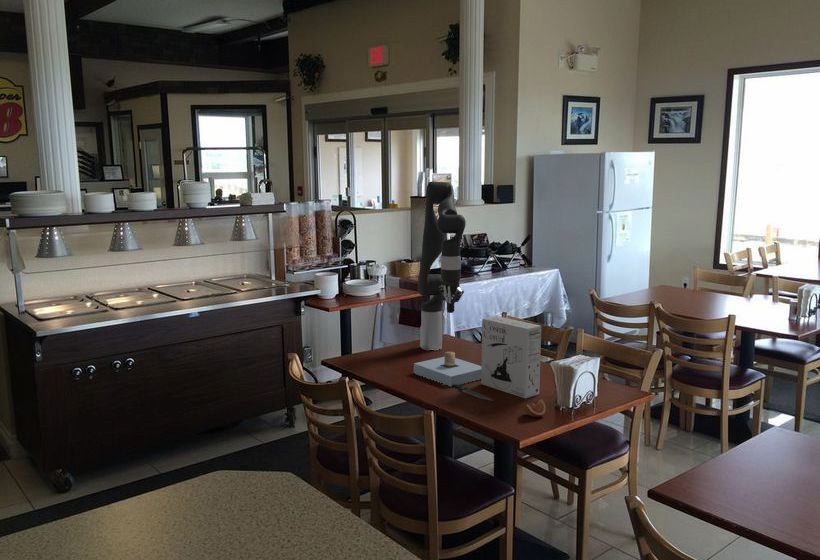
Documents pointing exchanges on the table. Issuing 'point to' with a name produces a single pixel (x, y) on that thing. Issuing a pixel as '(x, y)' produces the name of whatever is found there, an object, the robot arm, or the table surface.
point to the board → (448, 371)
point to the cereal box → (511, 356)
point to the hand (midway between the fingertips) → (450, 312)
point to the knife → (470, 392)
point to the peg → (449, 360)
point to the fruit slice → (535, 408)
